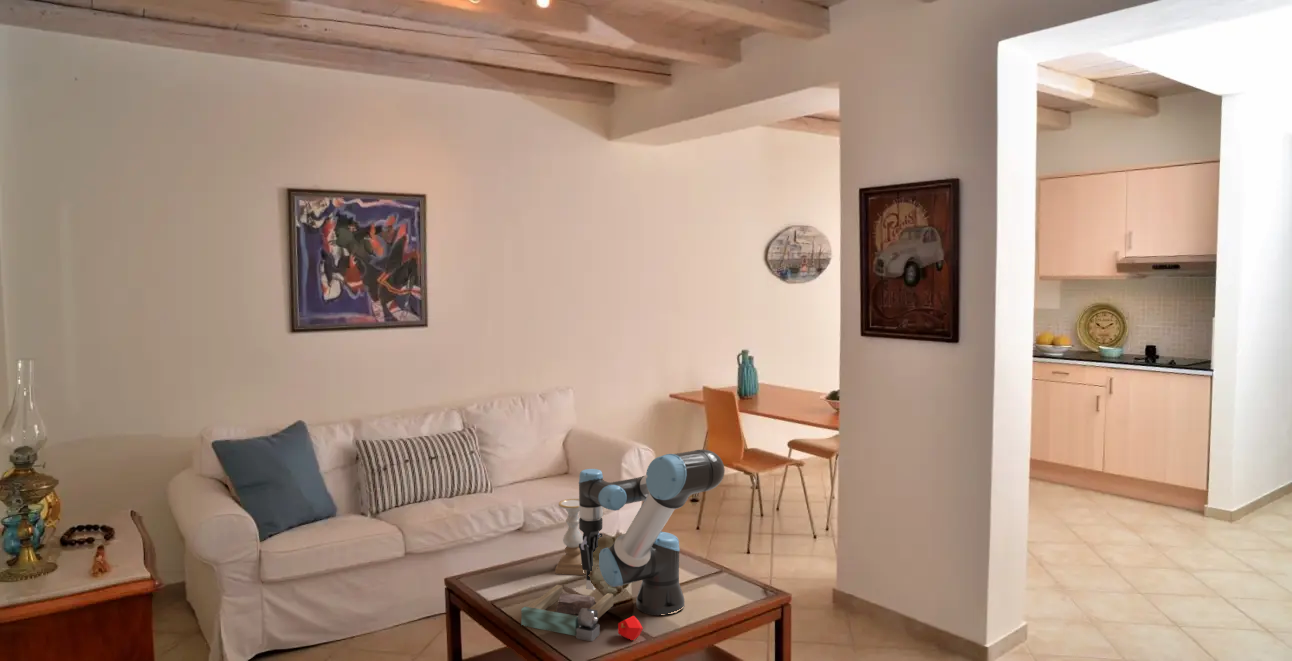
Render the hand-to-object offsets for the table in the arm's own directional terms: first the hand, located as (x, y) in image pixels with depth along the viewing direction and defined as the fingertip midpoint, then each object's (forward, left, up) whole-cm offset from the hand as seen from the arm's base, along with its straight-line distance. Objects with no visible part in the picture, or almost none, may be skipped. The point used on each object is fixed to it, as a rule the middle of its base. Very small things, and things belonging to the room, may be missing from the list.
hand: (590, 588), depth 269 cm
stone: (-1, +12, -3) cm, 12 cm away
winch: (-13, +28, -2) cm, 30 cm away
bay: (0, +17, -2) cm, 17 cm away
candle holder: (+16, -18, -2) cm, 24 cm away
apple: (-24, +24, -2) cm, 34 cm away
